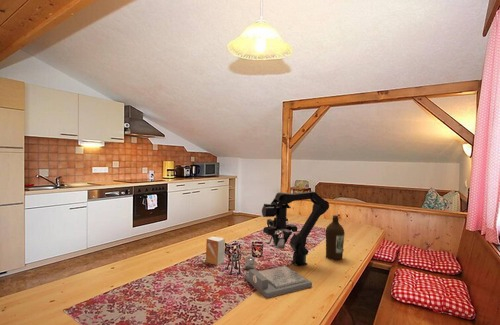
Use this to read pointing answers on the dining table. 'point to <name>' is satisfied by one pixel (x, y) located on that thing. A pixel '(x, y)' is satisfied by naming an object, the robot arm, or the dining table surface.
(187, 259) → the dining table surface
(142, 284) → the dining table surface
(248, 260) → the steel spacer
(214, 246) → the small box
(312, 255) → the dining table surface
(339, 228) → the olive oil
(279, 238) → the cylinder
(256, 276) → the kitchen scale
